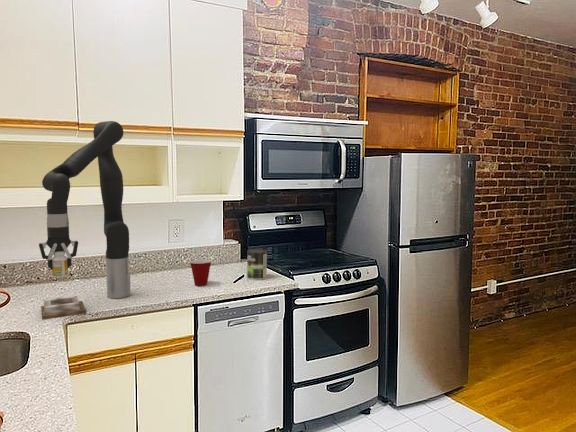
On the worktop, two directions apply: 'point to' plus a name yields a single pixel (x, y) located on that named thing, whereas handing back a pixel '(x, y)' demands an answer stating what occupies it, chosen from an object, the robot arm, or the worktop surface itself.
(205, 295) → the worktop surface
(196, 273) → the plastic cup
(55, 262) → the supplement bottle
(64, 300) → the frame
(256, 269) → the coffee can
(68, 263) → the robot arm
